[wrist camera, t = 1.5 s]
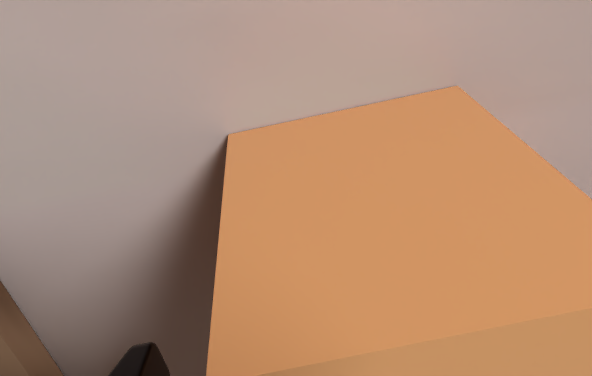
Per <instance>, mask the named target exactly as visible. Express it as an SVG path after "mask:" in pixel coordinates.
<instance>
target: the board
mask: <svg viewBox="0 0 592 376" xmlns="http://www.w3.org/2000/svg"><path fill="white" fill-rule="evenodd" d="M0 376H64V375H63V374H62V372H61V371H60V369H59V368H58V366H57V365H56V363H55V362H54V360H53V359H52V357H51V356H50V354H49V353H48V351H47V350H46V348H45V347H44V345H43V344H42V342H41V341H40V339H39V338H38V336H37V335H36V333H35V332H34V330H33V329H32V327H31V326H30V324H29V323H28V321H27V320H26V318H25V317H24V315H23V314H22V312H21V311H20V309H19V308H18V306H17V305H16V304H15V302H14V301H13V299H12V298H11V296H10V295H9V293H8V292H7V290H6V289H5V287H4V286H3V284H2V283H1V281H0Z"/></svg>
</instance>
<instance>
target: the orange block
mask: <svg viewBox="0 0 592 376" xmlns="http://www.w3.org/2000/svg"><path fill="white" fill-rule="evenodd" d="M206 376H592V199H591V198H589V197H588V196H587V195H586V194H585V193H584V192H582V191H581V190H580V189H579V188H578V187H576V186H575V185H574V184H573V183H572V182H571V181H569V180H568V179H567V178H566V177H565V176H563V175H562V174H561V173H560V172H559V171H558V170H556V169H555V168H554V167H553V166H552V165H550V164H549V163H548V162H547V161H546V160H545V159H543V158H542V157H541V156H540V155H539V154H537V153H536V152H535V151H534V150H533V149H532V148H530V147H529V146H528V145H527V144H526V143H525V142H523V141H522V140H521V139H520V138H519V137H517V136H516V135H515V134H514V133H513V132H512V131H510V130H509V129H508V128H507V127H506V126H504V125H503V124H502V123H501V122H500V121H499V120H497V119H496V118H495V117H494V116H493V115H491V114H490V113H489V112H488V111H487V110H486V109H484V108H483V107H482V106H481V105H480V104H478V103H477V102H476V101H475V100H474V99H473V98H471V97H470V96H469V95H468V94H467V93H465V92H464V91H463V90H462V89H461V88H460V87H458V86H454V87H449V88H444V89H439V90H435V91H430V92H425V93H421V94H416V95H411V96H407V97H402V98H397V99H393V100H388V101H383V102H379V103H374V104H369V105H365V106H360V107H355V108H350V109H346V110H341V111H336V112H332V113H327V114H322V115H318V116H313V117H308V118H304V119H299V120H294V121H290V122H285V123H280V124H276V125H271V126H266V127H261V128H257V129H252V130H247V131H243V132H238V133H233V134H229V135H228V142H227V153H226V164H225V175H224V186H223V197H222V208H221V219H220V229H219V240H218V251H217V262H216V273H215V284H214V295H213V306H212V316H211V327H210V338H209V349H208V360H207V371H206Z"/></svg>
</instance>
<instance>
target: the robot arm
mask: <svg viewBox="0 0 592 376" xmlns="http://www.w3.org/2000/svg"><path fill="white" fill-rule="evenodd" d="M108 376H170V373H169V370H168V367H167V365H166V363H165V361H164V359H163V357H162V355H161V353H160V351H159V349H158V347H157V346H156V344H155V343H153V342H149V343H144V344H139V345H135V346H132V347H131V348H130V349H129V350H128V351H127V353H126V354H125V355H124V356H123V358H122V359H121V360H120V361H119V363H118V364H117V365H116V367H115V368H114V369H113V370H112V372H111V373H110V374H109V375H108Z"/></svg>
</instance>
